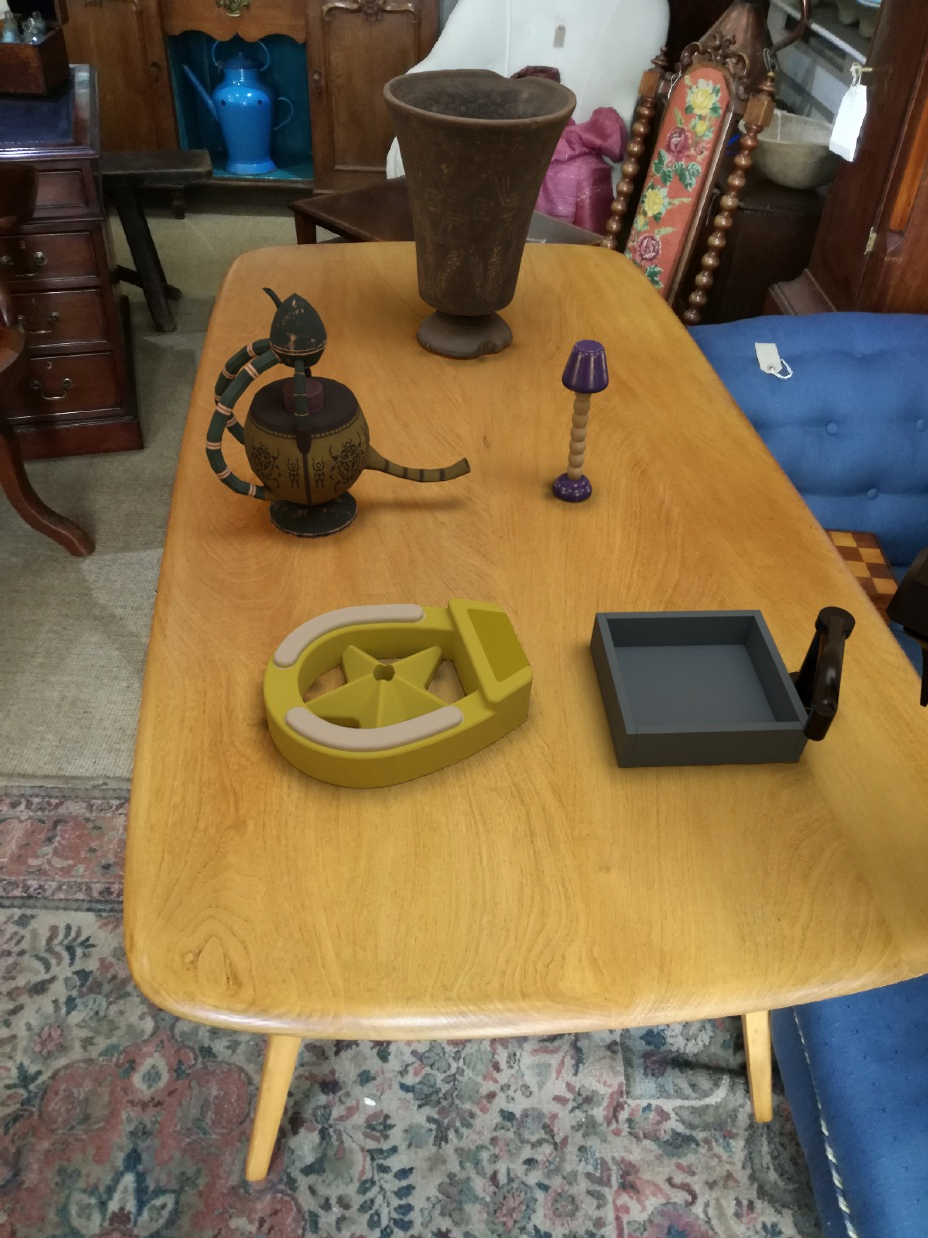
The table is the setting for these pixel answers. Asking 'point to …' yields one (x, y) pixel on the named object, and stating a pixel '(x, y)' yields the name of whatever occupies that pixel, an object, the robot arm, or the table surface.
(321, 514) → the teapot
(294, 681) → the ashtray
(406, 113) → the vase
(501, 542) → the table surface
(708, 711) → the sink
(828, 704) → the spout
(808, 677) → the tap column
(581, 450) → the toy lamp
